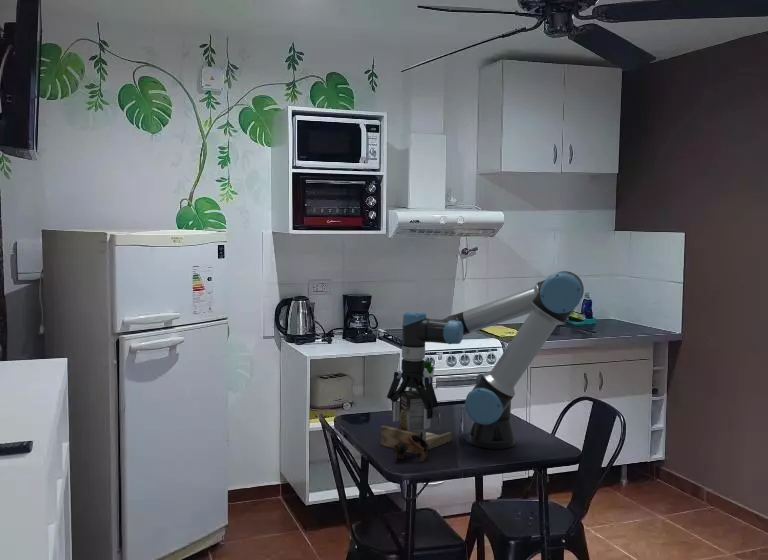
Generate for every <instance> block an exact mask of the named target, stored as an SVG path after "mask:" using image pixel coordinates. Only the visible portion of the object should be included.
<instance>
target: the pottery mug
mask: <svg viewBox="0 0 768 560" xmlns="http://www.w3.org/2000/svg"><path fill="white" fill-rule="evenodd" d="M415 442H420V445H421V446H419V445H418V444H417V443H415ZM409 445H410V448H412V449H413V450H415V451H417V452H418V454H420V457H419V459H418V461H419V463H422V461H423V462H424V461H425V459H427V457H428V454H429V452H428V451H429V450H430V449H429V445H428V444H427V443H426V441H424V440H423V439H422V438H420V437H419V436H416V435H410V436H409V437H407V438H405V439H403V440H402V441H401V442H399V443H397V444H396V445H395V446H394V448H393V452H394V454H395V459H396V460H398V459H400V460H403V459H404V457H405V454H406V453H407V452H406V451H407V450H408V447H409ZM423 448H424V451H422V450H423ZM428 449H429V450H428Z"/></svg>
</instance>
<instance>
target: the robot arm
mask: <svg viewBox="0 0 768 560" xmlns="http://www.w3.org/2000/svg"><path fill="white" fill-rule="evenodd" d="M584 290H585V289H584V283H583V281H582V280H581V278H580V277H579V276H578V275H577V274H576V273H574V272H571V271H565V270H563V271H558V272H555V273H553V274H550V275H549V276H548V277H547V278H545V279H544V280H541V281H539V282H536V284H535V286H533V287H530V288H527V289H525V290H522V291H518V292H517V293H514V294H510V295H507V296H505V297H502V298H500V299H496V300H493V301H491V302H487V303H484V304H482V305H478V306H476V307H472V308H470V309H467V310H464V311H462V312H458V313H456V314H452V315H448V316H447V317H445V318H443V319H435V318H433V319H432V318H427V313H426V312H424V311H419V310H417V311H414V310H413V311H412V310H411V311H406V312H404V314H403V316H402V325H401V327H402V332H401V333H402V335H401V336H402V340H401V341H402V346H401V358H402V359H401V367H400V368H401V371H400V370H398V371H395V372H394V373H393V380H392V382H391V385H390V387H389V390H388V393H387V395H386V399H390V401H391V411H392V422H393V423H395V422H399V412H400V392H402V391H406V389H407V388H409V387H412V388H415V389H416V390H417V391H418V392H419V394H420V396H421V397H422V400H423V402H424V404H425V406H426V408H425V409H424V429H426V430H427V429H430V428H431V419H432V418H433V415H434V414H433V412H434V408H438V406H439V402H438V399H437V396H436V395H437V394H436V392H435V389H434V385H432V377H424V375H423V372H424V369H425V361H426V360H424V359H425V358H426V343H437V344H448V345H460V344H461V342H462V340H463V337H464V336H466V335H469V334H471V333H473V332H478V331H480V330H483V329H486V328H490V327H492V326H495V325H496V326H497V325H498V324H501V323H504V322H507V321H510V320H513V319H516V318H519V317H523V316H526V315H528V316H527V317H526V319H525V320H524V322H523V323H522V324H521V327H519V329H518V331H517V332H516V333H515V335H514V337H513V338H512V340H511V341H510V343H509V344H508V345H507V346H506V349H505V350H504V351H503V352H502V354H501V355H500V357H499V359H498V360H497V361H496V363H495V365H494V366H493V367H492V369H491V371H488V372H483V373H478V374H477V376H476V380H475V383H476V384H475V385H474V387H473V388H472V390H471V391H469V392H468V394H467V395H466V397H465V401H464V407H465V411H466V414H467V416H468V417H469V418H470V419H471V420H472V421H473V424H472V426H471V429H470V432H469V439H468V441H469V444H471V445H473V446H476V447H478V448H484V449H491V450H502V449H510V448H512V447H514V446H515V443H516V436H515V433H514V430H513V426H512V422H511V413H512V412H511V411H512V408H511V407H512V406H511V405H512V401H513V400H512V399H514V397H515V395H516V391H515V386H516V385H517V383H519V381H520V379H521V378H522V376H523V375H524V374H525V372H526V371H527V369H528V367H529V366H530V365H531V364H532V362H533V361H534V359H535V358H536V356H537V355H538V353H539V352H540V351H541V349H542V347H543V345H545V343H546V342H547V340H548V339H549V337H550V336H551V334H552V333H553V331H554V330H555V328H556V327H557V326H558V325H563V324H565V323H566V322H567V320H568V319H569V317H570V316H571V315H572V313H573V312H574V310H575V309H576V307H578V305H579V304H580V302H581V301H582V298H583V296H584V293H585V291H584ZM401 380H402V382H401ZM423 381H424V382H423ZM423 383H425V386H424V384H423ZM419 386H420V387H419ZM425 388H426V390H425ZM426 391H427V392H426Z"/></svg>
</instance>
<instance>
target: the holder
mask: <svg viewBox="0 0 768 560" xmlns="http://www.w3.org/2000/svg"><path fill="white" fill-rule="evenodd" d="M410 435H416V436H419V437H420V434H417V433H413V432H409V431H405V430H401V429H399V428H397V427H392V426H390V425H389V426H388V425H382V426H380V443H379V444H380V446H384V447H388V448H391V449H394V446H395V445H396V444H397V443H399V442H401V441H402V440H403V439H405V438H407V437H409V436H410ZM452 436H453V433H452V432H450V431H447V432H445V433H442V434H437V433H433V432H429V431H428V432H427V431H426V440H425V441H426V443H427V444H428V445H429V450H431V448H432V449H434V447H435V448H438V447H440V446H442V445H445V444H448V443H450V441H451V442H452V441H453V439H452V438H453V437H452ZM447 442H448V443H447ZM415 443H417V444H418V445H419V446H421V445H420V442H415ZM422 451H424V448H423V450H422ZM406 453H408V454H409V453H410V454H413V455H418V454H419V453H418V452H417V451H415V450H413V449H412V448H410V445H409V447H408V450H407V451H406Z"/></svg>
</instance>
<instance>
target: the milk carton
mask: <svg viewBox="0 0 768 560" xmlns="http://www.w3.org/2000/svg"><path fill="white" fill-rule="evenodd" d="M424 361H425V369H424V372H423V375H424V377H432V385H433V382H434V373H435V369H436V367H435V366H432V362H431V361H429V360H424ZM423 382H424V381H423ZM423 384H424V386H425V383H423ZM433 386H434V385H433ZM419 387H420V386H419ZM425 390H426V388H425ZM408 391H416V389H415V388H412V387H408ZM426 392H427V391H426Z"/></svg>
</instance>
